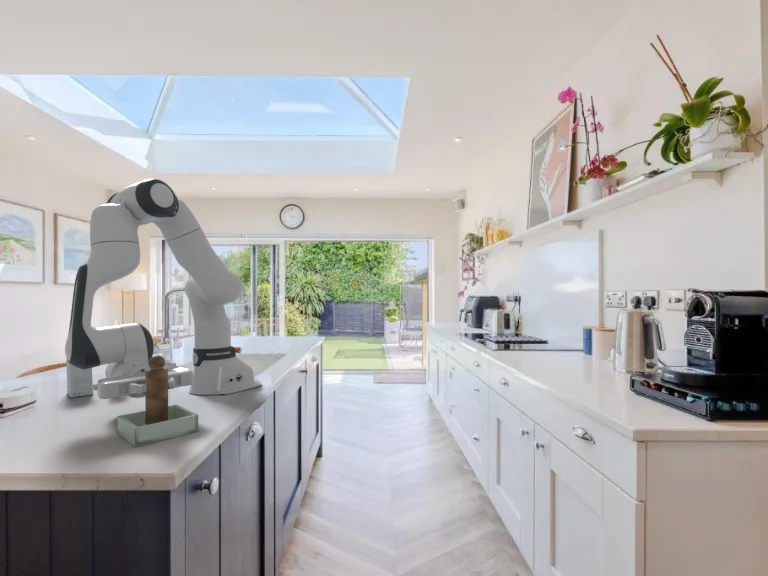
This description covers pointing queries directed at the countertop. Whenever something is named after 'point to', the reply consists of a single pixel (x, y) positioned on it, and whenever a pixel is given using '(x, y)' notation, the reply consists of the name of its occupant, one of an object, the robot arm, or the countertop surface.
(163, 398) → the mill
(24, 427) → the countertop surface
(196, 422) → the bin
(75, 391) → the skincare box
